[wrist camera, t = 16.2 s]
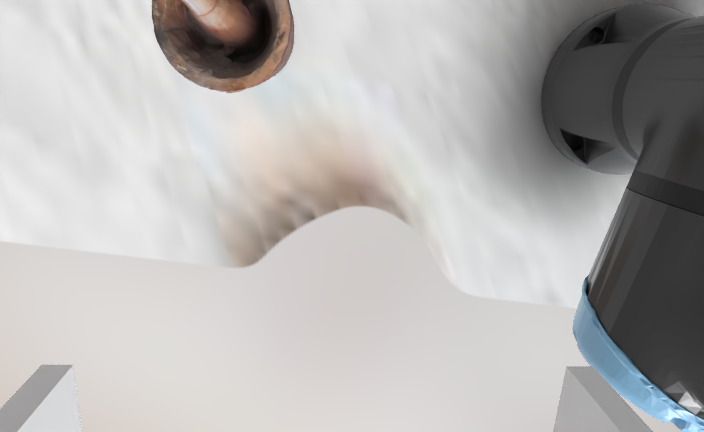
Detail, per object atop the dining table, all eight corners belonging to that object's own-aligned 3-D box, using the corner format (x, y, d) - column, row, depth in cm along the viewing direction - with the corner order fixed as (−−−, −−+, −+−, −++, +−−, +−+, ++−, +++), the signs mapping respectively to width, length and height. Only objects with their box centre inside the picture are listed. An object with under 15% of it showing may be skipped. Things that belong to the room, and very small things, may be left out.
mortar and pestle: (153, 41, 42) (14, 17, 23) (189, -57, 40) (70, -173, 21) (275, 102, 44) (241, 126, 25) (315, 11, 42) (312, -38, 23)
